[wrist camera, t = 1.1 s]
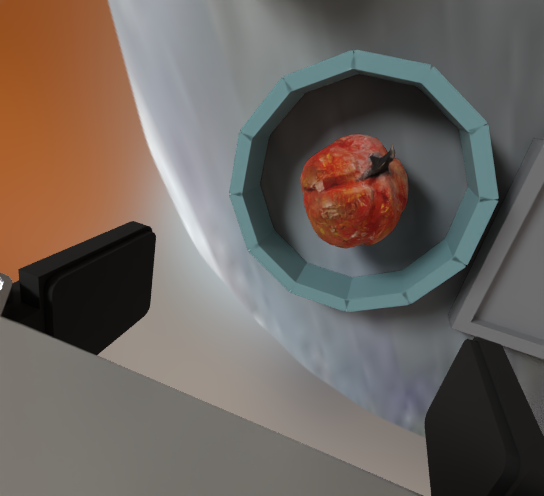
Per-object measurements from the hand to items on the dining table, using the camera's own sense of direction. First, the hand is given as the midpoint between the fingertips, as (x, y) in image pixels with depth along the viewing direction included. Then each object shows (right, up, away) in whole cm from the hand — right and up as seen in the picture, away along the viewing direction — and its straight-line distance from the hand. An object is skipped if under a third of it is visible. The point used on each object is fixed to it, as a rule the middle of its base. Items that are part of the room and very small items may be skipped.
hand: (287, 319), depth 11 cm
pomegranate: (+6, +7, +18) cm, 20 cm away
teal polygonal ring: (+6, +7, +17) cm, 20 cm away
